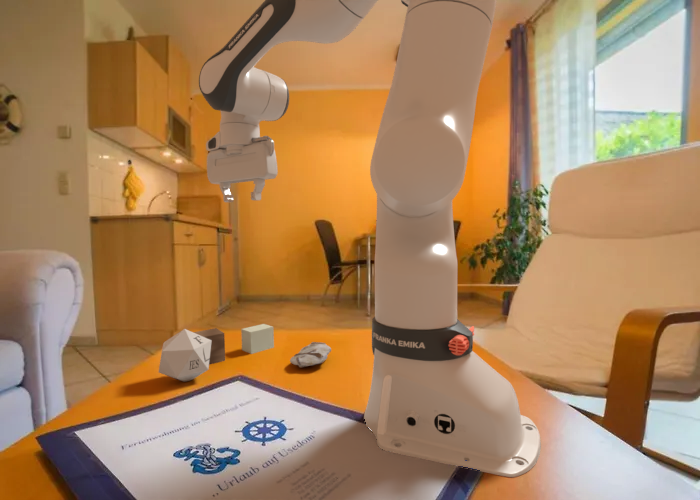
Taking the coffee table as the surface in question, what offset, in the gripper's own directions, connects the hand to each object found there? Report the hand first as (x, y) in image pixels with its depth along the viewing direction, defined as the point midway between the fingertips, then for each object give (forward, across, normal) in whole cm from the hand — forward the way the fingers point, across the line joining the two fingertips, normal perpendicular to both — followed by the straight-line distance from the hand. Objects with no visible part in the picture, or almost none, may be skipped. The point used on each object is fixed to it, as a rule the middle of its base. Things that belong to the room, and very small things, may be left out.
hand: (241, 201), depth 85 cm
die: (+34, -7, +20) cm, 41 cm away
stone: (+34, -22, -3) cm, 41 cm away
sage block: (+34, -4, 0) cm, 35 cm away
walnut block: (+28, -1, +11) cm, 30 cm away
